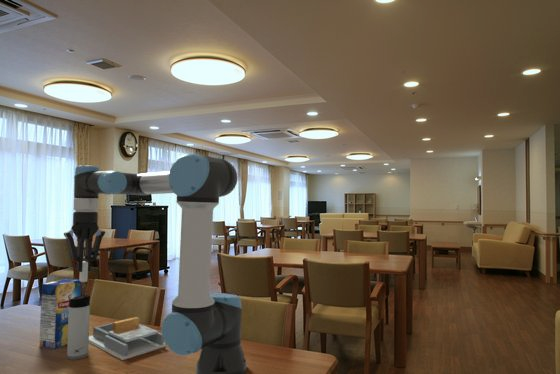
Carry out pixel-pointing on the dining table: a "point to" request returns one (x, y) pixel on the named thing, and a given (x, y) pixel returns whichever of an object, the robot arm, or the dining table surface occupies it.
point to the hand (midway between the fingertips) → (83, 281)
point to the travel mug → (78, 327)
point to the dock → (124, 343)
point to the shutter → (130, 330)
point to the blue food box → (56, 311)
